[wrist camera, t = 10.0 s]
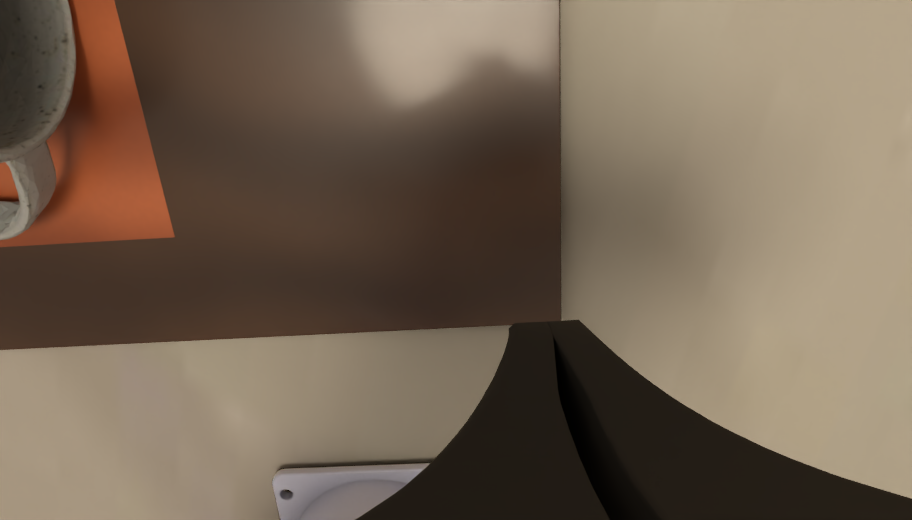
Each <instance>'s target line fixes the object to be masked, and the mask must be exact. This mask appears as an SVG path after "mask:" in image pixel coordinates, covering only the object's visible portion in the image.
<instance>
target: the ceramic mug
mask: <svg viewBox="0 0 912 520" xmlns="http://www.w3.org/2000/svg"><path fill="white" fill-rule="evenodd" d="M75 74H76V42H75V33H74V27H73V21H72V16H71V10H70V5H69V2H68V0H0V163H3V162H5V163H6V164H7V165H8V166H9V168H10V171H11V173H12V177H13V181H14V183H15V186H16V189H17V192H18V196H19V201H15V202H10V201H0V240H5V239H10V238H13V237H16V236H17V235H19V234H21V233H23V232H24V231H26V230H27V229H29V228H30V226H31V225H32V224H33V223H34V221H35V220H36V218H37V217H38V216H39V214H40V213H41V212H42V210H43V209H44V208H45V207H46V205H47V204H48V203H49V201H50V199H51V197H52V195H53V193H54V190H55V186H56V181H57V180H56V170H55V167H54V163H53V160H52V157H51V153H50V150H49V147H48V144H47V142H46V140H47V139H49V137H50V136H51V135H52V134H53V132H54V131H55V130H56V128H57V126H58V125H59V123H60V122H61V120H62V119H63V117H64V115H65V113H66V110H67V107H68V105H69V102H70V100H71V98H72V92H73V86H74V80H75Z"/></svg>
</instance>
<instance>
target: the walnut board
mask: <svg viewBox="0 0 912 520" xmlns="http://www.w3.org/2000/svg"><path fill="white" fill-rule="evenodd" d="M68 2H69V5H70V10H71V16H72V21H73V27H74V33H75V42H76V74H75V80H74V86H73V92H72V98H71V100H70V102H69V105H68V107H67V110H66V113H65V115H64V117H63V119H62V120H61V122H60V123H59V125H58V126H57V128H56V130H55V131H54V132H53V134H52V135H51V136H50V137H49V139H47V140H46V142H47V144H48V147H49V150H50V153H51V157H52V160H53V163H54V167H55V170H56V180H57V181H56V186H55V190H54V193H53V195H52V197H51V199H50V201H49V203H48V204H47V205H46V207H45V208H44V209H43V210H42V212H41V213H40V214H39V216H38V217H37V218H36V220H35V221H34V223H33V224H32V225H31V226H30V228H29V229H27V230H26V231H24V232H23V233H21V234H19V235H17V236H16V237H13V238H10V239H5V240H0V350H8V349H28V348H49V347H69V346H90V345H110V344H131V343H151V342H172V341H192V340H213V339H233V338H254V337H274V336H295V335H315V334H336V333H356V332H377V331H397V330H418V329H438V328H459V327H479V326H500V325H513V324H514V323H526V322H547V321H561V138H560V0H68ZM0 201H10V202H15V201H19V196H18V192H17V189H16V186H15V183H14V181H13V177H12V173H11V171H10V168H9V166H8V165H7V164H6V163H5V162H3V163H0Z"/></svg>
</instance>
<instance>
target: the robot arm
mask: <svg viewBox="0 0 912 520" xmlns="http://www.w3.org/2000/svg"><path fill="white" fill-rule="evenodd" d="M272 486H273V490H274V494H275V499H276V503H277V507H278V512H279V516H280V520H912V499H910V498H907V497H904V496H900V495H897V494H894V493H891V492H887V491H884V490H881V489H877V488H874V487H871V486H868V485H864V484H861V483H858V482H854V481H851V480H848V479H845V478H841V477H839V476H836V475H833V474H830V473H827V472H825V471H822V470H819V469H817V468H814V467H811V466H809V465H806V464H804V463H801V462H798V461H796V460H793V459H790V458H788V457H786V456H783V455H781V454H779V453H776V452H774V451H771V450H769V449H767V448H765V447H762V446H760V445H758V444H756V443H754V442H752V441H750V440H748V439H746V438H743V437H741V436H739V435H737V434H735V433H733V432H731V431H729V430H727V429H725V428H723V427H721V426H719V425H718V424H716V423H714V422H712V421H710V420H708V419H707V418H705V417H703V416H702V415H700V414H698V413H697V412H695V411H693V410H692V409H690V408H688V407H687V406H685V405H683V404H682V403H680V402H678V401H677V400H675V399H674V398H672V397H671V396H669V395H668V394H666V393H665V392H664V391H662V390H661V389H659V388H658V387H657V386H655V385H654V384H653V383H651V382H650V381H648V380H647V379H646V378H644V377H643V376H642V375H640V374H639V373H638V372H637V371H635V370H634V369H633V368H632V367H630V366H629V365H628V364H627V363H626V362H624V361H623V360H622V359H621V358H620V357H618V356H617V355H616V354H615V353H614V352H613V351H612V350H611V349H609V348H608V347H607V346H606V345H605V344H604V343H603V342H602V341H601V340H600V339H599V338H597V337H596V336H595V335H594V334H593V333H592V332H591V331H590V330H589V329H588V328H587V327H586V326H585V325H584V324H582V323H581V322H580V321H579V320H567V321H547V322H526V323H514V324H513V325H512V326H511V327H510V328H509V338H508V342H507V346H506V349H505V352H504V355H503V357H502V360H501V362H500V364H499V367H498V369H497V371H496V373H495V376H494V378H493V380H492V382H491V383H490V385H489V387H488V389H487V390H486V392H485V394H484V396H483V398H482V399H481V401H480V403H479V404H478V406H477V407H476V409H475V410H474V412H473V413H472V415H471V416H470V418H469V419H468V421H467V422H466V423H465V424H464V426H463V427H462V428H461V430H460V431H459V432H458V434H457V435H456V436H455V437H454V438H453V439H452V440H451V442H450V443H449V444H448V445H447V446H446V447H445V449H444V450H443V451H442V452H441V453H440V454H439V455H438V456H437V457H436V458H435V459H434V460H433V461H432V462H431V463H420V464H394V465H368V466H342V467H317V468H291V469H281V470H279V471H277V472H276V474H275V475H274V478H273V480H272ZM285 489H286V490H290V491H291V493H290V492H286V491H284V490H285Z"/></svg>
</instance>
